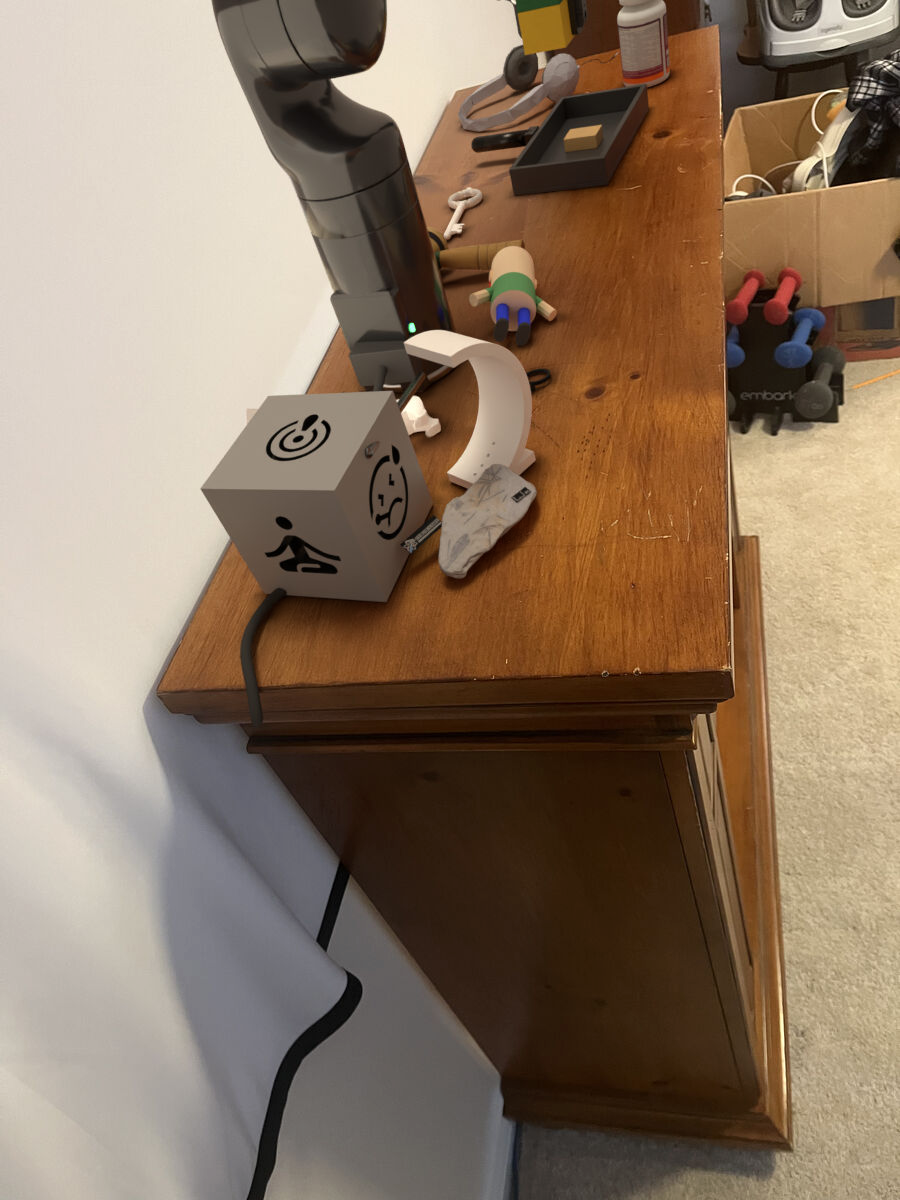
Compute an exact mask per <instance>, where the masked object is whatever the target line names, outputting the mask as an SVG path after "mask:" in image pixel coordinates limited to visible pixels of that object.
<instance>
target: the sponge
mask: <svg viewBox="0 0 900 1200" xmlns="http://www.w3.org/2000/svg"><path fill="white" fill-rule="evenodd" d="M515 1H516V6H517V12H518V18H519V24H520V30H521V35H522V39H521V41H522V45H523V47H524V53H525V55H529V54H534V53H536V54H539V53H543V52H544V53H545V52H549V51H555V50H560V49H565V48H567V47H568V45H570V43H571V41H572V40H573V39H574V38H575V36H576V35H572V32H571V25H570V18H569V11H568V3H567V0H515Z"/></svg>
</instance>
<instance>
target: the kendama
mask: <svg viewBox="0 0 900 1200" xmlns="http://www.w3.org/2000/svg"><path fill="white" fill-rule="evenodd" d="M426 226H427V225H426ZM427 229H428V233H429V236H430V240H431V243H432V247H433V250H434V254H435V258H436V261H437V265H438V268H439V272H440V271H441V270H442V269H443V268H444V269H452V270H467V271H480V270H481V271H490V270H491V267H492V262H493V259H494V257H495V256H496V254H497V253H498V252H499V251H500V250H502V249H503V248H506V247H509V246H518V247H521V248H523V249H525V250H526V246H525V241H524V240H523V239H515V240H508V241H500V242H494V243H493V242H491V243H483V244H474V245H465V246H459V247H453V248H449V246H448V245H449V244H448V242H447V239H445V238H444V234H442V233H441V232H440V231H439V230H438V229H436V228H435V227H432V226H427Z"/></svg>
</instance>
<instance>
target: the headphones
mask: <svg viewBox="0 0 900 1200" xmlns="http://www.w3.org/2000/svg"><path fill="white" fill-rule="evenodd" d="M619 53H620V51H618V52H616V54H614V55H613V56H612V57H611V58H610V59H609V60H607V61H604V62H602V61H601V60H600V59H599V58H595V59H590V60H588V61H584V62H583V63H582V64H580V65H579V64H578V63H577V61H576V59H575V58H574V57H573V56H572V55H571V54H568V53H566V52H565V53H557V54H555V55H554V56H552V57H551V58H550V59H549V60H548V61H547V64H546V65H545V67H544V69H543V72H542V75H541V84H539V85H537V86H535V87H533V88H532V89H531V90H529V91H528V92H527V93H526V94H525V95H524V96H523V97H522V98H520V99H519V100H518V101H517V102H515V103H514V104H513V105H512V106H510V108H508V109H505V110H502V111H500V112H497V113H494V114H493V115H491V116H490V115H489V116H487V117H480V118H476V119H471V118H467V116H468V114H469V113H470V112H471V110H472V109H473V107H474V106H476V105H477V104H480V103H481V102H483V101H484V100H486V99H488V98H490V97H491V96H493V95H496V94H498V93H499V92H500V91H502V90H504V89H505V88H506V87H507V86H509V88H511V89H512V90H513V91H518V92H519V91H520V92H521V91H524V90H527V89H528V88H530V87H531V86H532V85H533V83H535V81H536V79H537V75H538V73H539V56H538V53H534V54H529V55H525V53H524V47H523V44H520V45H517V46H513V47H512V48H511V49H510V51H509V53H508V54H507V56H506V57H505V61H504V62H503V68H502V73H500V74H499V75H497V76H495V77H494V78H492V79H490V80H488V81H487V82H484V83H483V84H482V85H480V86H479V87H478V88H477V89H476V90H475V91H473V92H472V93H471V94H469V95H468V96H467V97H466V98H465V99H464V101H463V102H462V104H461V105H460V108H459V110H458V115H457V116H458V120H459V121H460V123H461V126H462V129H463V130H466V131H473V132H483V131H486V130H490V129H493V128H495V127H499V126H503V125H506V124H507V125H508V124H510V123H512V122H514V121H516V119H518V118H520V117H521V116H524V115H525V114H527V113H529V112H530V111H532V110H533V109H534V108H535V107H537V106H538V105H539V104H540V103H541V102H542V101H543V100H544V99H545V98H547V99H548V100H550V101H551V102H553V103H557V102H558V100H559V99H560V98H561V97H566V96H572V95H574V93H575V92H576V89H577V86H578V84H579V79H580V76H581V75H580V67H581V66H583V65H585V64H587V63H590V62H592V61H599V63H600V64H606V63H609V62H611V61H612V60H614V59H615V57H617V55H618V54H619Z"/></svg>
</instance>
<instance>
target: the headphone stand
mask: <svg viewBox="0 0 900 1200" xmlns="http://www.w3.org/2000/svg"><path fill="white" fill-rule="evenodd" d="M404 346H405V349H406V352H407V354H410V355H413V356H417V357H420V358H423V359H427V360H430V361H433V362H436V363H440V364H443V365H446V366H449V367H453V369H455V368H456V367H457V366H459V365H460V364H463V363H464V362H465V361H467V360H468V362H469V363H470V365H471V367H472V369H473V371H474V375H475V378H476V381H477V387H478V409H477V410H478V412H477V417H476V421H475V426H474V429H473V431H472V436H471V438H470V440H469V441H468V444H467V446H466V447H465V450H464V451H463V453H462V455H461V456H460V457H459V458H458V460H457V461H456V462H455V464H454V465H452V466H451V468H450V469H449V470H448V471H447V472H446V475H447V478H448V480H449V481H450V482H451V483H453V484H455V485H458V486H461V487H463V488H465V489H467V490H468V489H469V488H470V487H471V486H472V485H473V484H474V483H475V482H476V481H477V480H478V479H479V478H480V477H481V475H482V474H483V472H484V471H485V469H487V468H489V467H490V466H491V465H493V464H502V465H504V466H506V467H508V468H510V469H511V470H513V471H514V472H515V473H516V474H517V475H519V476H521V475H522V473H524V472H525V471H526V470H527V469H528V468H529V467H530V466H531V465H532V464H533V463H535V462H536V460H537V459H536V454H535V451H534V450H531V449H528V448H526V445H527V443H528V439H529V435H530V430H531V425H532V424H531V422H532V417H533V416H532V415H533V414H532V413H533V399H532V398H533V397H532V392H531V390H530V384H529V381H530V380H529V377H527V375H526V373H527V372H526V370H525V368H524V366H523V364H522V363H521V361H520V360H519V358H518V357H517V356H516V355H515V354H514V353H513V352H512V351H511V350H509V349H508V348H506V347H504V346H502V345H500V344H498V343H493V342H490V341H487V340H483V339H478V338H475V337H471V336H468V335H464V334H461V333H458V332H457V333H453V332H449V331H445V330H431V331H426V332H423V333H420V334H417V335H415V336H413V337H412V338H410V339H408V340H407V341H405V342H404Z"/></svg>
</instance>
